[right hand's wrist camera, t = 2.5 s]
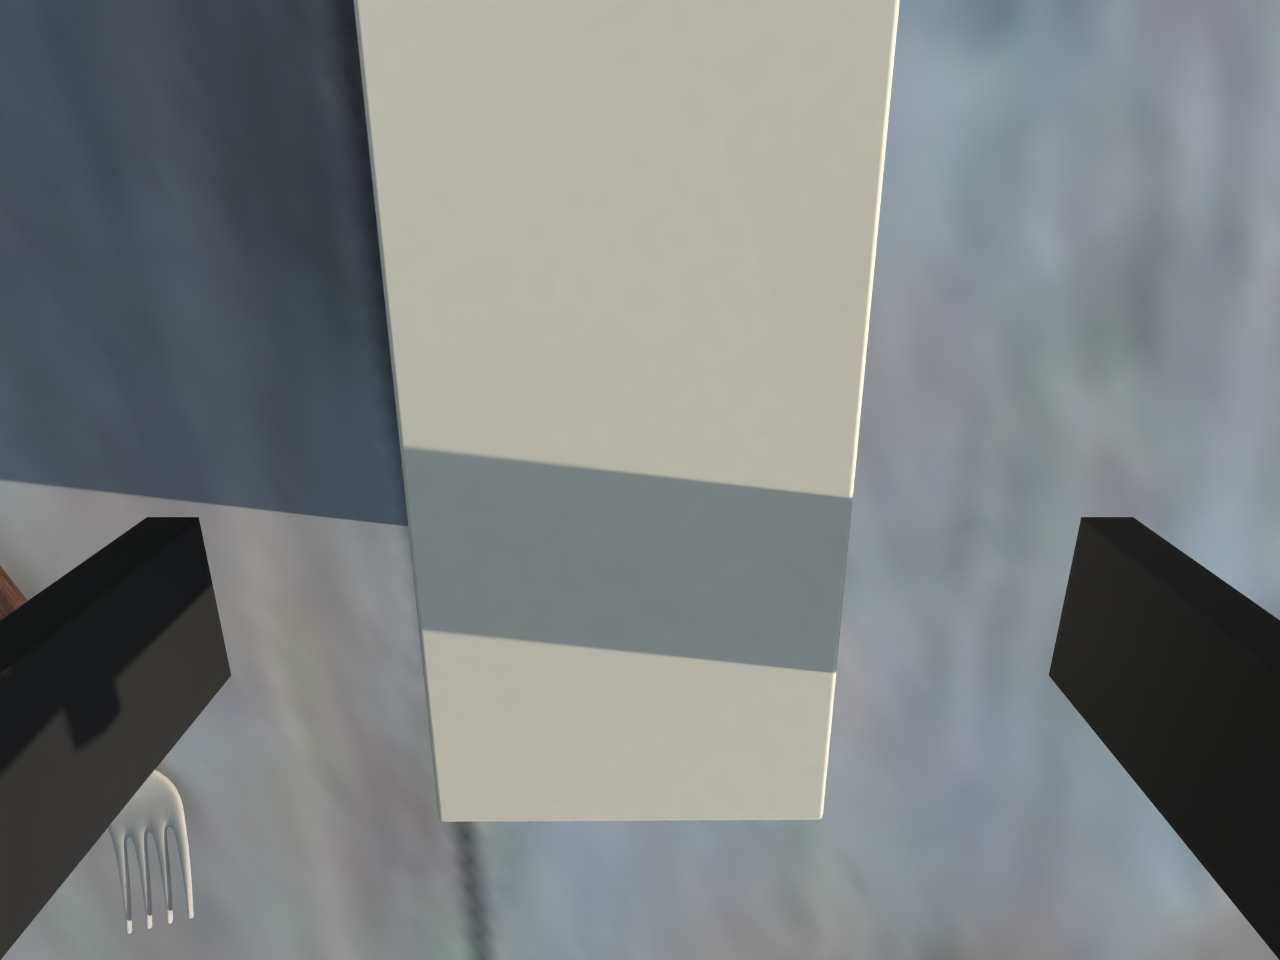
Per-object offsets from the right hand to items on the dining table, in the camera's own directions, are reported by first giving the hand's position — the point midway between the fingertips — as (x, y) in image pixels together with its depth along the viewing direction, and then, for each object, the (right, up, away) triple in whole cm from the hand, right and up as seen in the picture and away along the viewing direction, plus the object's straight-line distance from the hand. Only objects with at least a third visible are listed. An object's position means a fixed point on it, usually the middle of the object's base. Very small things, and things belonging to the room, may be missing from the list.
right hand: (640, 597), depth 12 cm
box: (0, +12, +7) cm, 14 cm away
